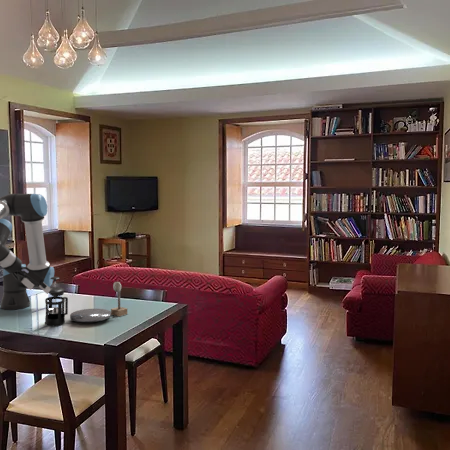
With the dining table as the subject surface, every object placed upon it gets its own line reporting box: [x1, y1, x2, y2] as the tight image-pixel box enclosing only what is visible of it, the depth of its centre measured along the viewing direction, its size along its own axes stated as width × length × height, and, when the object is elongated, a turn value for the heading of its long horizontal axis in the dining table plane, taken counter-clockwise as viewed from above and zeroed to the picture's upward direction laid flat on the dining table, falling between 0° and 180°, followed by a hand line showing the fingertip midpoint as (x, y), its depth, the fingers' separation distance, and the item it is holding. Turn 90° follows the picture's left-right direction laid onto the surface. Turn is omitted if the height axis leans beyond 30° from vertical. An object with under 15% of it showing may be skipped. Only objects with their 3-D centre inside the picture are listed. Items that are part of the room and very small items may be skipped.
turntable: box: [69, 308, 112, 323], centre depth 238 cm, size 20×20×2 cm
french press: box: [44, 276, 69, 327], centre depth 230 cm, size 12×9×23 cm
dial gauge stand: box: [110, 281, 128, 317], centre depth 248 cm, size 6×6×18 cm
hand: (40, 289), depth 223 cm, fingers open, 13 cm apart
